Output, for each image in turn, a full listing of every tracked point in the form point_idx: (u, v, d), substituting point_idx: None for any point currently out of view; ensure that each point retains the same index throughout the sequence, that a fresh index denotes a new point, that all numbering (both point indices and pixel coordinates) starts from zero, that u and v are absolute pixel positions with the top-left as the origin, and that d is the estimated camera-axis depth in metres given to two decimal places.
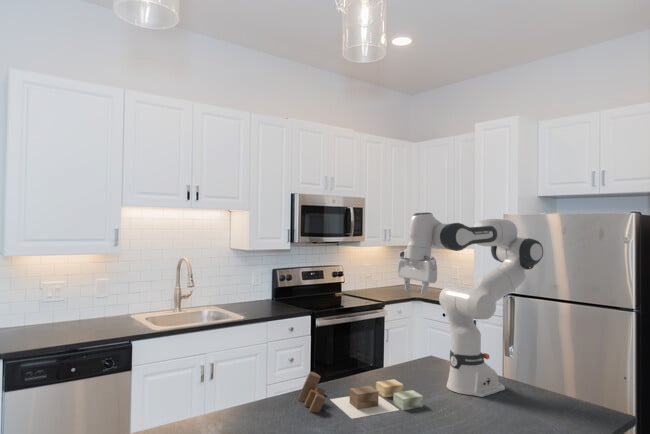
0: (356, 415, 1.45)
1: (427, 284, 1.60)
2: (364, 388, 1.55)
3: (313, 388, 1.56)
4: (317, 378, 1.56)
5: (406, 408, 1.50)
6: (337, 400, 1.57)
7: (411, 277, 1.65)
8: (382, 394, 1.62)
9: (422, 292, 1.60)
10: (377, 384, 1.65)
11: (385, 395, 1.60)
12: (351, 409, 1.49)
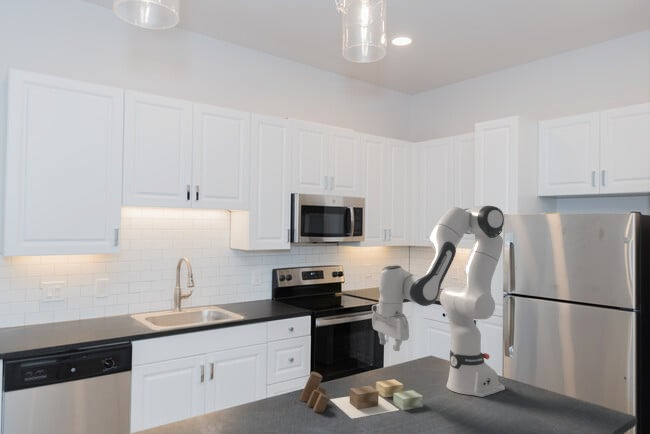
0: (356, 415, 1.45)
1: (400, 341, 1.59)
2: (364, 388, 1.55)
3: (315, 388, 1.56)
4: (319, 378, 1.56)
5: (406, 408, 1.50)
6: (337, 400, 1.57)
7: (384, 332, 1.65)
8: (382, 394, 1.61)
9: (396, 349, 1.60)
10: (377, 384, 1.65)
11: (385, 395, 1.60)
12: (351, 409, 1.49)
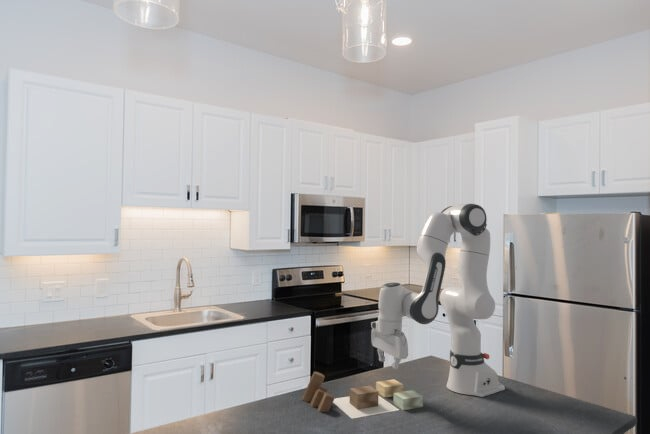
0: (356, 415, 1.45)
1: (399, 359, 1.59)
2: (364, 388, 1.55)
3: (318, 388, 1.56)
4: (322, 378, 1.56)
5: (406, 408, 1.50)
6: (337, 400, 1.57)
7: (384, 350, 1.65)
8: (382, 394, 1.61)
9: (395, 367, 1.60)
10: (377, 384, 1.65)
11: (385, 395, 1.60)
12: (351, 409, 1.49)
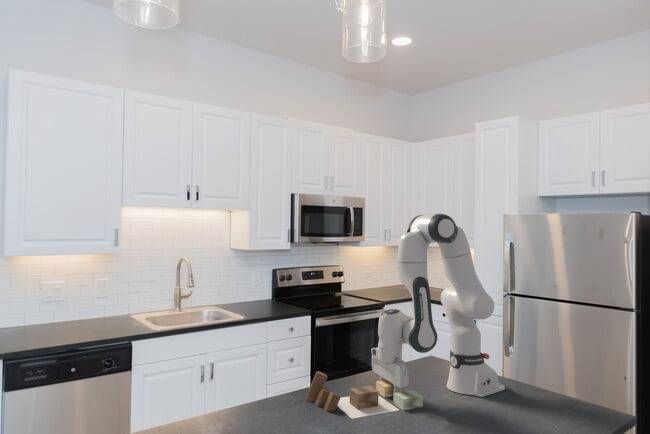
0: (356, 415, 1.45)
1: None
2: (364, 388, 1.55)
3: (321, 387, 1.57)
4: (325, 377, 1.57)
5: (406, 408, 1.50)
6: None
7: (384, 377, 1.65)
8: (382, 394, 1.61)
9: None
10: (377, 384, 1.65)
11: (385, 395, 1.60)
12: (351, 409, 1.49)
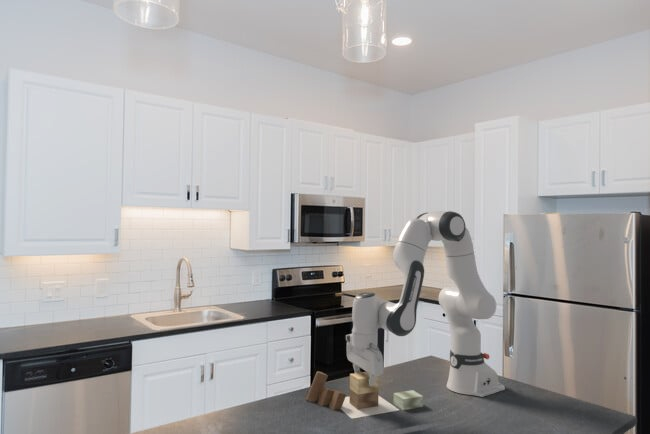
0: (356, 415, 1.45)
1: (374, 375, 1.48)
2: None
3: (322, 387, 1.57)
4: (326, 376, 1.58)
5: (406, 408, 1.50)
6: None
7: (359, 365, 1.54)
8: (356, 387, 1.51)
9: (370, 384, 1.49)
10: (351, 376, 1.54)
11: (359, 388, 1.50)
12: (351, 409, 1.49)
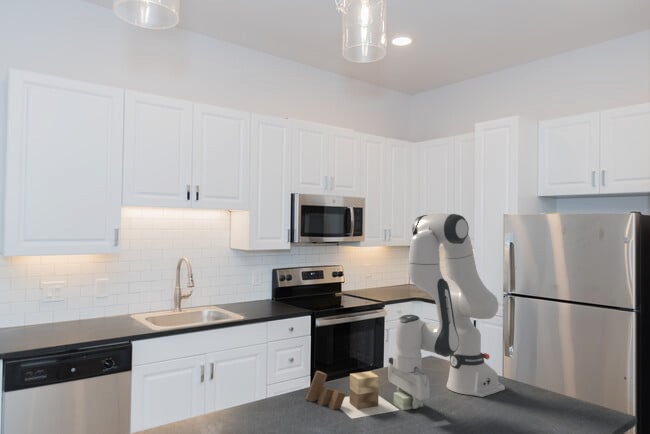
0: (356, 415, 1.45)
1: None
2: None
3: (322, 386, 1.58)
4: (326, 376, 1.58)
5: (406, 408, 1.50)
6: None
7: (402, 388, 1.54)
8: (356, 387, 1.51)
9: (413, 406, 1.49)
10: (351, 376, 1.54)
11: (359, 388, 1.50)
12: (351, 409, 1.49)
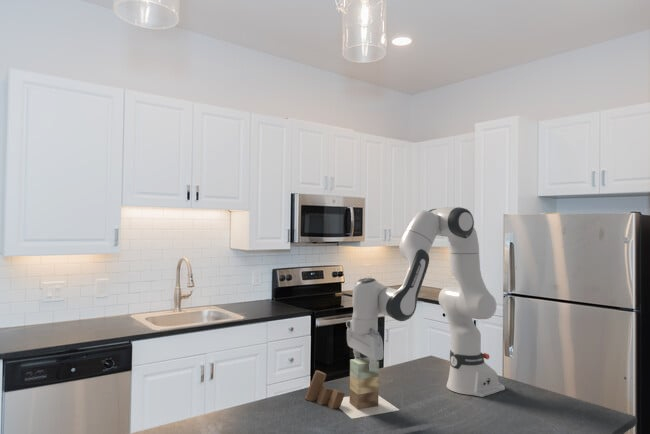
0: (356, 415, 1.45)
1: (374, 360, 1.48)
2: None
3: (321, 386, 1.58)
4: (325, 375, 1.59)
5: (362, 373, 1.50)
6: None
7: (359, 350, 1.54)
8: (356, 387, 1.51)
9: (370, 368, 1.49)
10: (351, 376, 1.54)
11: (359, 388, 1.50)
12: (351, 409, 1.49)
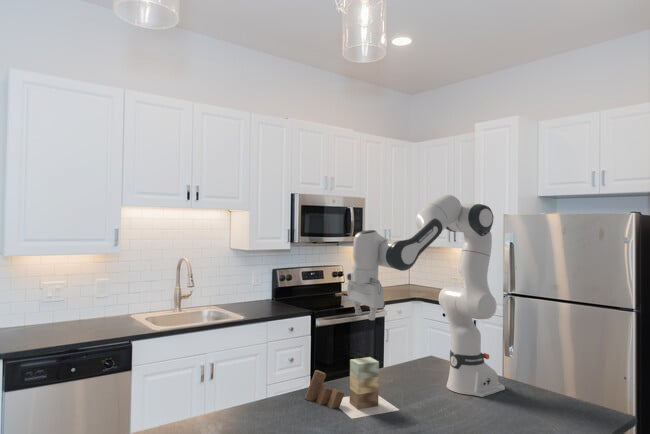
0: (356, 415, 1.45)
1: (375, 309, 1.48)
2: None
3: (321, 385, 1.59)
4: (325, 375, 1.59)
5: (362, 373, 1.50)
6: None
7: (359, 301, 1.54)
8: (356, 387, 1.51)
9: (371, 318, 1.49)
10: (351, 376, 1.54)
11: (359, 388, 1.50)
12: (351, 409, 1.49)
